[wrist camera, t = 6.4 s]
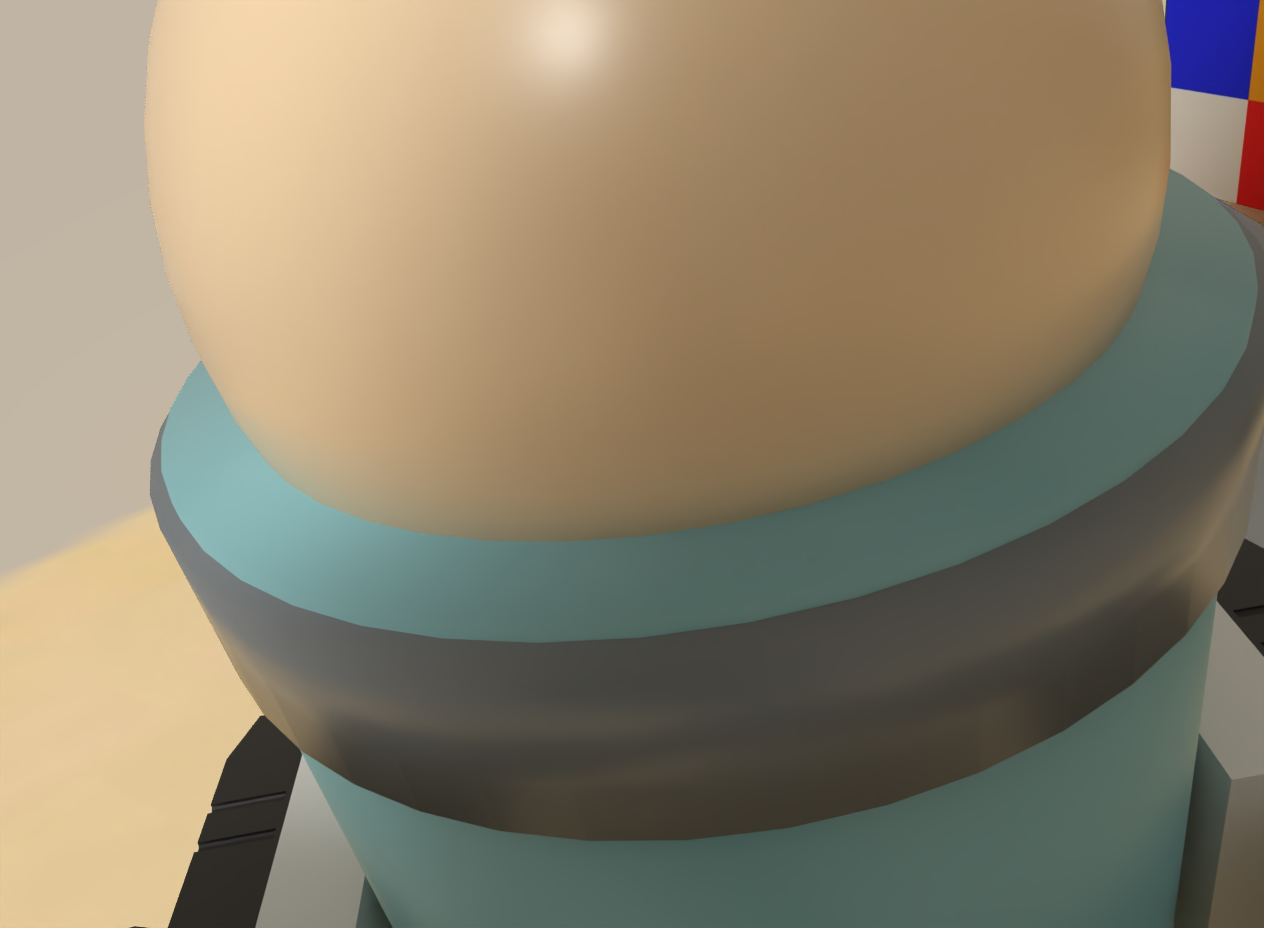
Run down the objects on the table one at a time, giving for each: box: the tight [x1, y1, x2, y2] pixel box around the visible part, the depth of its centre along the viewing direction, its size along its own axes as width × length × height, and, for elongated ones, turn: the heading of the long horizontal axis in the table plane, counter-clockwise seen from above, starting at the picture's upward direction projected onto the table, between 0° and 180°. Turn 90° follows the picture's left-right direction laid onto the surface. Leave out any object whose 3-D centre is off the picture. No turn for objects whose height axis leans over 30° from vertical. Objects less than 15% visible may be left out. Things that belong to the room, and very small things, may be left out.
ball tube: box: [144, 0, 1264, 928], centre depth 9 cm, size 6×6×15 cm
